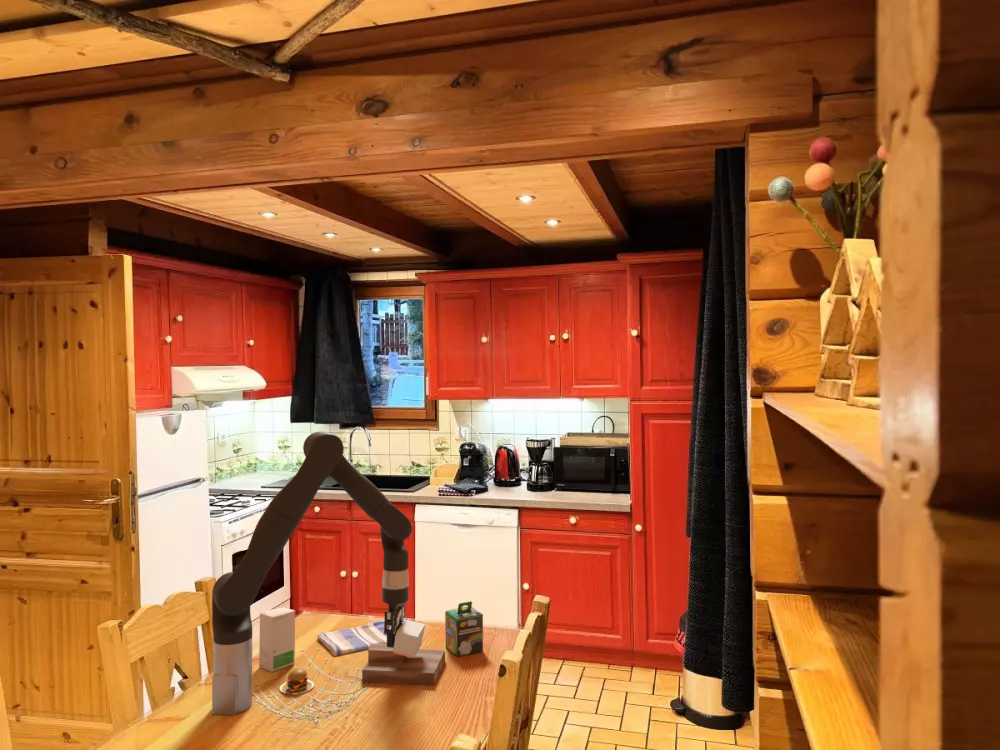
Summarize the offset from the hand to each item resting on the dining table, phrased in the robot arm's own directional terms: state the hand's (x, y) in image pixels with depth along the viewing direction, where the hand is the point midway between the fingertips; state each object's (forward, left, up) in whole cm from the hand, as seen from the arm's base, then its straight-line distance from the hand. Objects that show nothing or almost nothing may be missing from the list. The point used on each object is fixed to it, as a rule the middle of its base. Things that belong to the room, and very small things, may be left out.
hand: (394, 641), depth 198 cm
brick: (0, -4, -2) cm, 4 cm away
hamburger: (-14, +23, -9) cm, 29 cm away
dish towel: (+22, +17, -9) cm, 29 cm away
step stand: (0, -3, -8) cm, 9 cm away
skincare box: (0, +35, -9) cm, 36 cm away
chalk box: (+18, -17, -9) cm, 26 cm away
